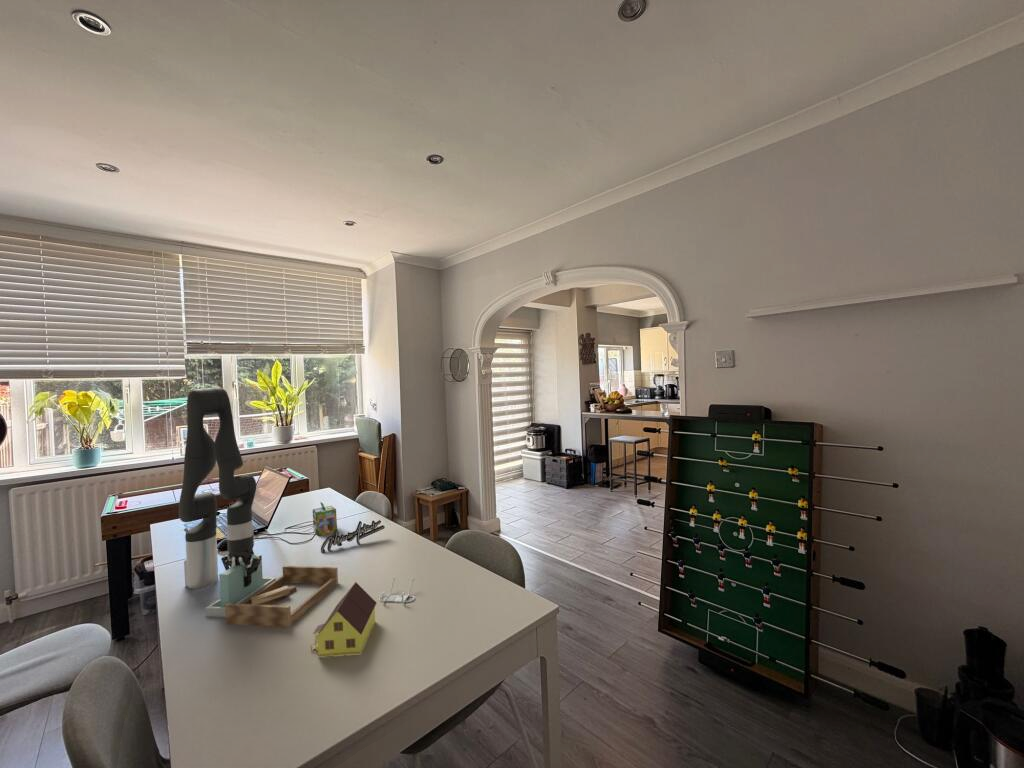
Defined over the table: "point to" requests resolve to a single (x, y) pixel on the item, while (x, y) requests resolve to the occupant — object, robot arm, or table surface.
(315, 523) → the juice box
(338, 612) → the house model
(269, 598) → the offcut short
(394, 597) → the wall mount rack
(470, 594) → the table surface
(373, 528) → the nameplate
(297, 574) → the brown wooden open box
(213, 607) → the tray
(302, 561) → the table surface
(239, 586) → the mint green rectangular block
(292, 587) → the offcut long
